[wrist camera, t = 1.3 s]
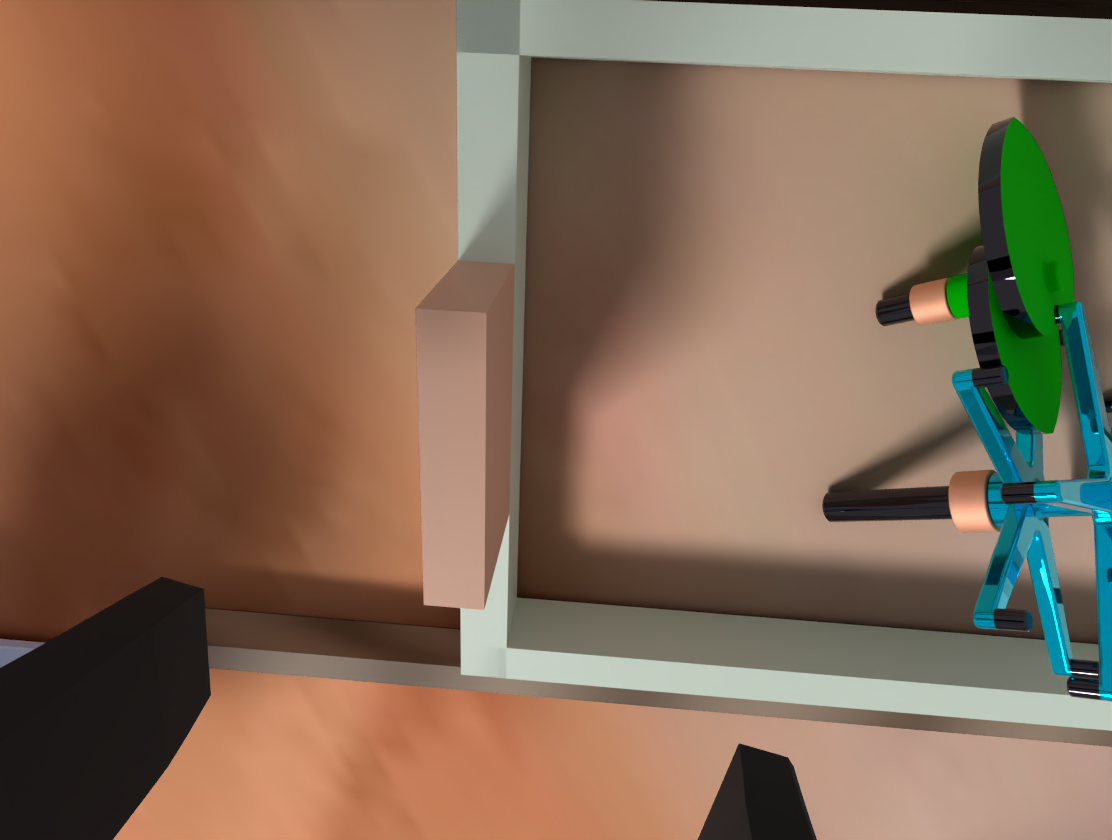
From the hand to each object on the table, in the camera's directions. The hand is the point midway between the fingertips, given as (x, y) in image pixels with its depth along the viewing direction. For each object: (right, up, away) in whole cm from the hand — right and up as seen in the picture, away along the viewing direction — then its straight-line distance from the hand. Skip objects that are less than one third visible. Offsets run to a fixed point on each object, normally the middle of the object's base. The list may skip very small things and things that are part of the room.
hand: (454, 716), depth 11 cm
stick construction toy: (+11, +5, +9) cm, 15 cm away
